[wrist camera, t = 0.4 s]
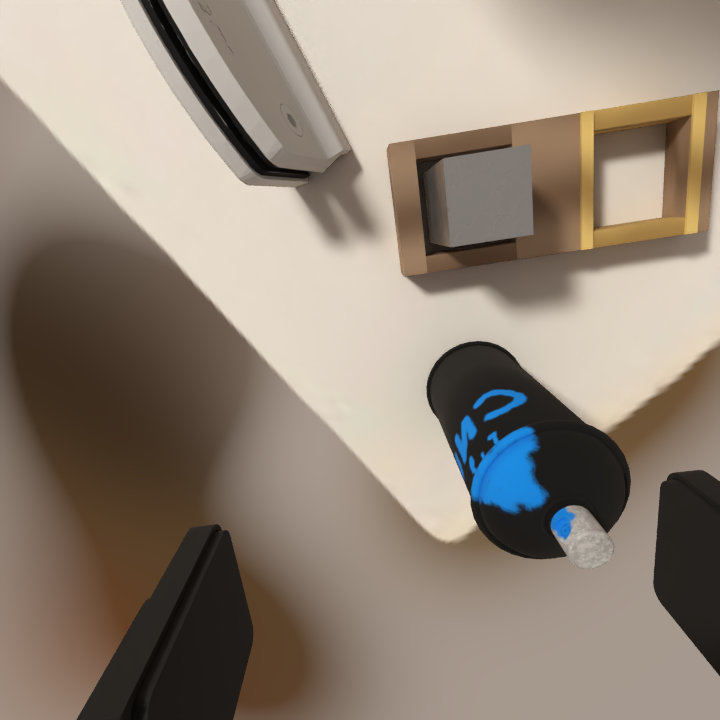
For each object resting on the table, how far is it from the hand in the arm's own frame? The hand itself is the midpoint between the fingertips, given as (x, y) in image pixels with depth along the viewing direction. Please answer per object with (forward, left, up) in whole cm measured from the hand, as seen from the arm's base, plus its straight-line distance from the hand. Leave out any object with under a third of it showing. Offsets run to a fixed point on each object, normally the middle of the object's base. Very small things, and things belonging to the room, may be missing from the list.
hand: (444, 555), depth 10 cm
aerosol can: (+8, +7, -28) cm, 30 cm away
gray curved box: (-18, -7, -28) cm, 34 cm away
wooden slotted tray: (-7, +13, -28) cm, 31 cm away
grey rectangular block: (-7, +7, -28) cm, 29 cm away
